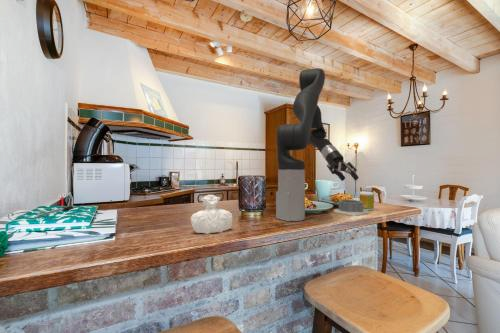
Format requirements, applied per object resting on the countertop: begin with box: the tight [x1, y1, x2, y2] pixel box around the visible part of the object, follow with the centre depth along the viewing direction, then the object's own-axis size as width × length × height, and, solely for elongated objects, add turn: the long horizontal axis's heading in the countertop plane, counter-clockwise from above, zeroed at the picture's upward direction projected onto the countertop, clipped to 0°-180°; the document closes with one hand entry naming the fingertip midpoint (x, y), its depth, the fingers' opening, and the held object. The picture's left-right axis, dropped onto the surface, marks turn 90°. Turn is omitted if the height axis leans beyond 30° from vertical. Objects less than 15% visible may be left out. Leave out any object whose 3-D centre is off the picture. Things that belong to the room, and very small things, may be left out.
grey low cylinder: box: [333, 199, 369, 217], centre depth 94 cm, size 9×9×4 cm
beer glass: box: [359, 186, 375, 212], centre depth 101 cm, size 5×5×10 cm
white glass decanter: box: [189, 194, 233, 235], centre depth 68 cm, size 12×8×11 cm
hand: (350, 179), depth 109 cm, fingers open, 8 cm apart
